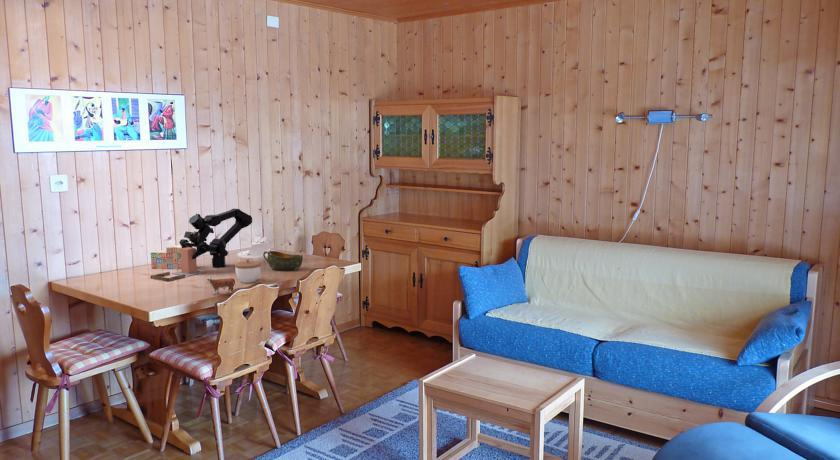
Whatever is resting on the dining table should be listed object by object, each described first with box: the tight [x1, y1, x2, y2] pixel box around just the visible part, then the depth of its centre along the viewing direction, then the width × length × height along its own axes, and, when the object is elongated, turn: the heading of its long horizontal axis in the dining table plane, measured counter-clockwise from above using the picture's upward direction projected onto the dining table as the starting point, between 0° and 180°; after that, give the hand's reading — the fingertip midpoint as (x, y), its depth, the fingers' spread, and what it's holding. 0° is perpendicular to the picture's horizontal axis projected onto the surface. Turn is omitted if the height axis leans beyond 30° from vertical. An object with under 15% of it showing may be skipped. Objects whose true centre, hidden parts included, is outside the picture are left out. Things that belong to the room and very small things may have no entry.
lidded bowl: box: [234, 259, 262, 284], centre depth 336 cm, size 13×13×11 cm
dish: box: [237, 235, 280, 259], centre depth 409 cm, size 25×25×11 cm
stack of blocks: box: [150, 245, 182, 270], centre depth 368 cm, size 21×6×12 cm, turn 85°
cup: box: [263, 250, 304, 272], centre depth 364 cm, size 13×20×10 cm, turn 56°
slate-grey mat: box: [172, 269, 206, 277], centre depth 355 cm, size 12×12×1 cm
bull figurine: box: [205, 276, 236, 296], centre depth 310 cm, size 4×13×8 cm, turn 95°
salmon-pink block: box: [180, 247, 198, 274], centre depth 354 cm, size 6×6×13 cm
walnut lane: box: [150, 271, 186, 282], centre depth 343 cm, size 11×13×2 cm
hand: (186, 258), depth 352 cm, fingers open, 9 cm apart
